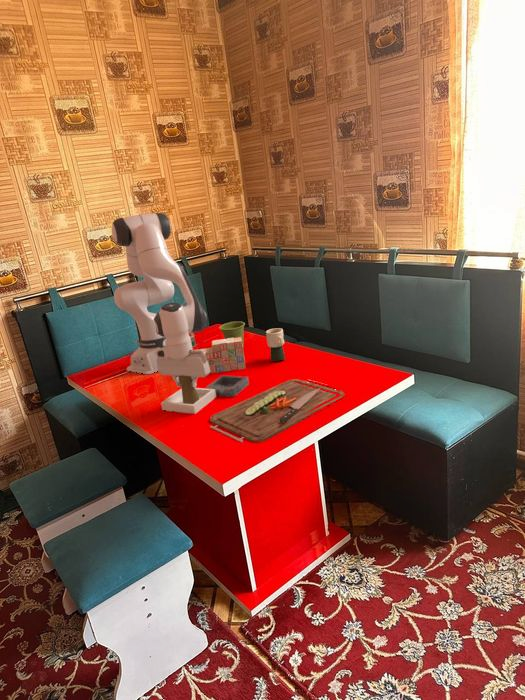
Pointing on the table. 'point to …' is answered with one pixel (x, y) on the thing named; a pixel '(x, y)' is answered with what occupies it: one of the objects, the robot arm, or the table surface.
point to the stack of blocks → (225, 355)
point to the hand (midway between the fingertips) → (186, 386)
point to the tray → (177, 404)
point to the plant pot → (233, 330)
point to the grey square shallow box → (228, 385)
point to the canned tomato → (192, 338)
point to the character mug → (275, 343)
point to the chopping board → (273, 410)
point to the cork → (188, 390)
